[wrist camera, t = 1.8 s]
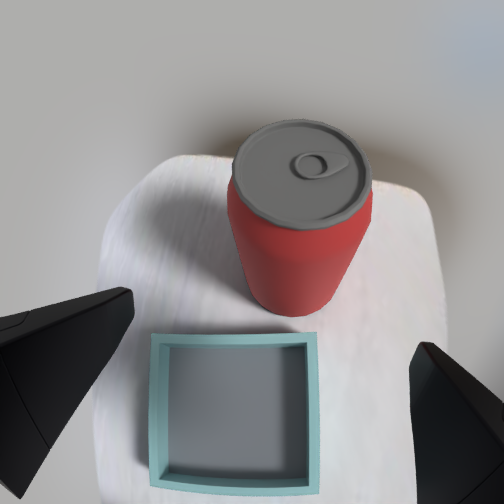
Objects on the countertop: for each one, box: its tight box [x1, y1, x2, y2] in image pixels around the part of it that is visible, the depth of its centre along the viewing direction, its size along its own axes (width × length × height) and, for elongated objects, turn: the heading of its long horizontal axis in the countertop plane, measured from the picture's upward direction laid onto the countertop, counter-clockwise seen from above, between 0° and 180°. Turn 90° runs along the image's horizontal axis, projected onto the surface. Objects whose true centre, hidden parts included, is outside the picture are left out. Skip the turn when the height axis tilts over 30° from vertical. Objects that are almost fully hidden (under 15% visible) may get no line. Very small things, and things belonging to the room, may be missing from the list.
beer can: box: [227, 119, 373, 317], centre depth 17 cm, size 7×7×12 cm
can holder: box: [148, 332, 320, 496], centre depth 18 cm, size 10×10×3 cm
